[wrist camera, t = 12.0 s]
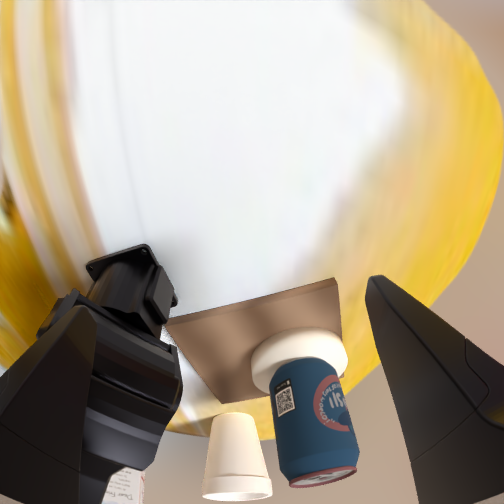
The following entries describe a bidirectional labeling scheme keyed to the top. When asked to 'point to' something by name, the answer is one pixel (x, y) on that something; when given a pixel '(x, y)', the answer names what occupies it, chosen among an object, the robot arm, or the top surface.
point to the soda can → (312, 423)
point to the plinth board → (261, 338)
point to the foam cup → (235, 461)
